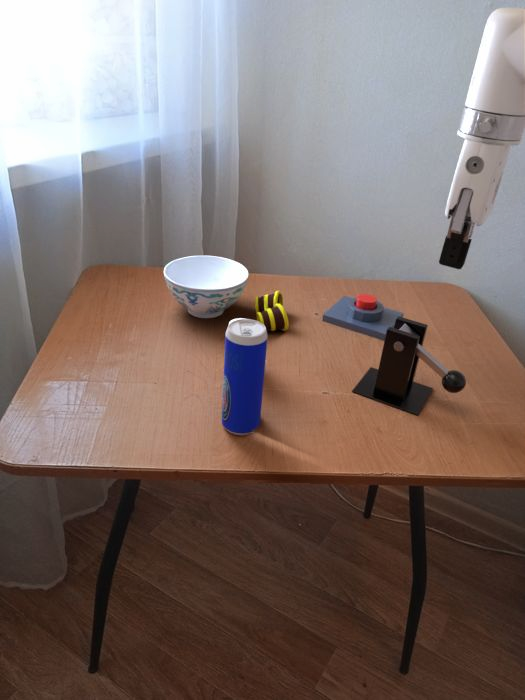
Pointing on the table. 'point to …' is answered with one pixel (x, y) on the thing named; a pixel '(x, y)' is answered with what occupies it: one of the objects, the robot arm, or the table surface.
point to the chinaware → (205, 283)
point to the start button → (366, 302)
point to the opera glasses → (271, 312)
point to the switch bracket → (397, 370)
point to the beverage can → (243, 375)
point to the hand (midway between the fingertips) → (450, 264)
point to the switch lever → (440, 368)
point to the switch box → (361, 317)
